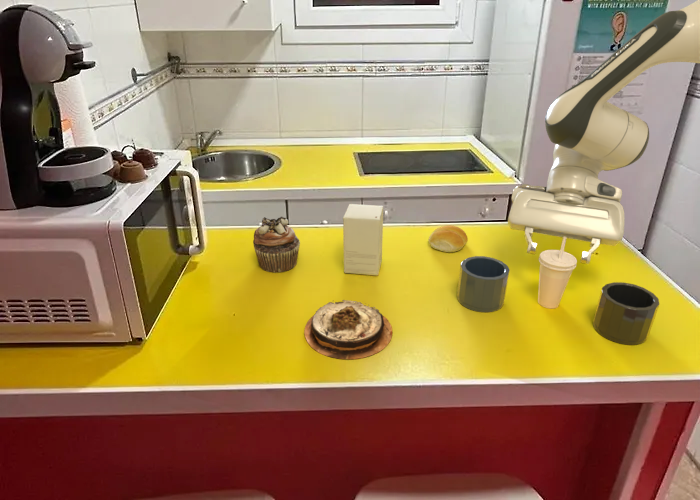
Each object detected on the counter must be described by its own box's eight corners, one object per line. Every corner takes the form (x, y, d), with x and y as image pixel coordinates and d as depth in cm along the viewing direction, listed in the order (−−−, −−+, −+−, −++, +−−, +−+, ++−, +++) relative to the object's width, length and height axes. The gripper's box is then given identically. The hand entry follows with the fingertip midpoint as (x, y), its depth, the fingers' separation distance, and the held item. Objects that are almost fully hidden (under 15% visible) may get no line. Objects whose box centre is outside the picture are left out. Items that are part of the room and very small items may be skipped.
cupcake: (257, 277, 105) (253, 232, 100) (253, 255, 113) (249, 212, 108) (304, 272, 107) (302, 228, 102) (297, 250, 115) (295, 209, 110)
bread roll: (470, 240, 120) (472, 224, 118) (458, 256, 113) (460, 239, 111) (436, 232, 124) (437, 217, 122) (423, 247, 117) (424, 231, 115)
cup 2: (645, 322, 92) (656, 288, 89) (649, 350, 85) (661, 315, 82) (592, 311, 95) (601, 278, 92) (592, 337, 88) (602, 303, 85)
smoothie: (541, 314, 94) (556, 245, 87) (524, 295, 99) (536, 229, 93) (573, 310, 95) (590, 242, 88) (554, 292, 101) (569, 226, 94)
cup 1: (506, 293, 100) (512, 261, 97) (500, 316, 93) (505, 283, 90) (462, 283, 103) (466, 252, 100) (452, 306, 96) (456, 273, 93)
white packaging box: (382, 259, 112) (384, 205, 106) (378, 276, 105) (380, 219, 99) (348, 256, 113) (349, 202, 107) (342, 273, 106) (342, 216, 100)
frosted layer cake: (369, 370, 80) (369, 348, 78) (287, 342, 86) (286, 322, 84) (404, 320, 92) (405, 300, 90) (330, 299, 98) (330, 280, 96)
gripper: (514, 175, 100) (500, 241, 97) (631, 191, 93) (620, 263, 90) (514, 189, 106) (500, 252, 103) (624, 205, 99) (613, 273, 96)
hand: (557, 257), depth 96 cm, fingers open, 8 cm apart
